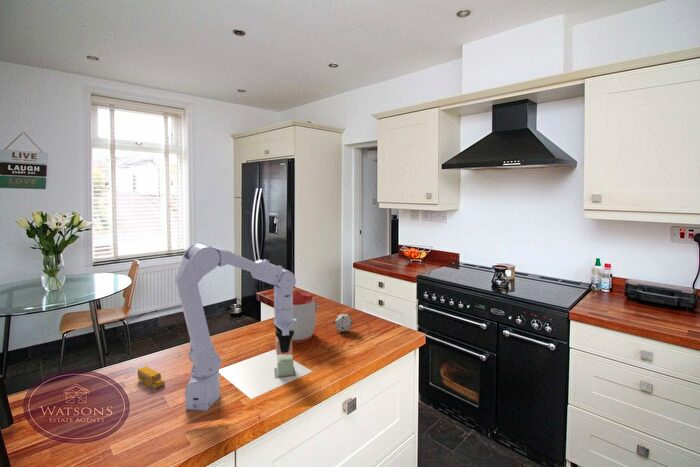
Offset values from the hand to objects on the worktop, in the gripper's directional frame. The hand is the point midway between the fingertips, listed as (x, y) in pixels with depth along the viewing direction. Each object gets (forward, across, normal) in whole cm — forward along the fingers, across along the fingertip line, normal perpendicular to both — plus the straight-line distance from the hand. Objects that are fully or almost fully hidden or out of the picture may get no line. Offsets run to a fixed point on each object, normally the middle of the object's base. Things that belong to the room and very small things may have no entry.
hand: (284, 348), depth 112 cm
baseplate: (+9, +2, +6) cm, 11 cm away
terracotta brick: (+1, 0, 0) cm, 1 cm away
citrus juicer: (+9, +27, -8) cm, 29 cm away
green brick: (+8, 0, 0) cm, 8 cm away
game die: (+9, +30, -27) cm, 41 cm away
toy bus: (+9, +5, +40) cm, 41 cm away
